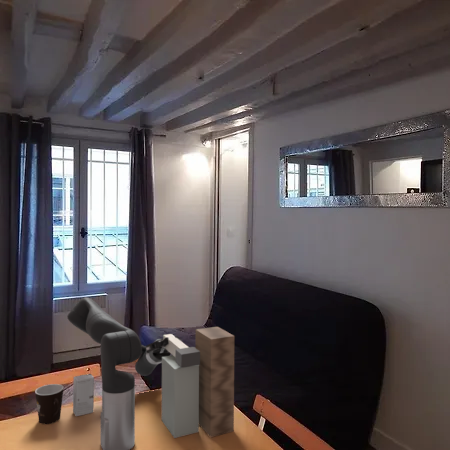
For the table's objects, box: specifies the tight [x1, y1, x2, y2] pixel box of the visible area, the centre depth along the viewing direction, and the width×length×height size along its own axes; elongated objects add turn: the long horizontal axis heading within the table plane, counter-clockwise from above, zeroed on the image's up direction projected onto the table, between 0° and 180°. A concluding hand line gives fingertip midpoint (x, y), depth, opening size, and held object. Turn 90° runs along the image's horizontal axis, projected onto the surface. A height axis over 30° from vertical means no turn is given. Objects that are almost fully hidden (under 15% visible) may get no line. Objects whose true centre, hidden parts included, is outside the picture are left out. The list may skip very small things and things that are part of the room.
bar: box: [162, 333, 200, 368], centre depth 132 cm, size 6×21×4 cm, turn 27°
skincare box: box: [72, 373, 95, 417], centre depth 140 cm, size 6×4×12 cm
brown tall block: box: [194, 326, 235, 438], centre depth 131 cm, size 8×12×30 cm, turn 27°
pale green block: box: [161, 354, 200, 439], centre depth 131 cm, size 8×12×21 cm, turn 27°
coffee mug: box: [34, 383, 64, 425], centre depth 133 cm, size 12×9×10 cm
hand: (172, 339), depth 137 cm, fingers closed on bar, 2 cm apart
